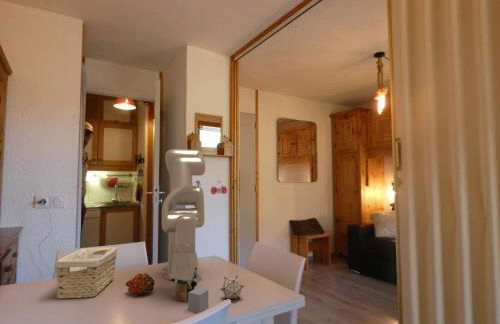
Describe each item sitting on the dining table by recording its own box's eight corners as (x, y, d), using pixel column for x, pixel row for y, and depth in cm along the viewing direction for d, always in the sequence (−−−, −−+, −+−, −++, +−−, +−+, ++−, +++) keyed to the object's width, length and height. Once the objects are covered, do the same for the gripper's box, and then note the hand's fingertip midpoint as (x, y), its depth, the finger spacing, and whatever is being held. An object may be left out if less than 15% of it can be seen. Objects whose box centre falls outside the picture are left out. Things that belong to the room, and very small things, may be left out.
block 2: (187, 310, 100) (188, 292, 101) (196, 305, 105) (196, 287, 105) (199, 313, 98) (199, 294, 98) (208, 307, 102) (208, 290, 103)
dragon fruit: (155, 299, 113) (127, 302, 115) (161, 280, 120) (135, 283, 122) (146, 286, 109) (117, 289, 111) (154, 267, 116) (126, 270, 118)
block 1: (175, 300, 109) (175, 283, 109) (183, 295, 113) (183, 279, 114) (185, 302, 107) (185, 285, 107) (194, 297, 111) (194, 281, 112)
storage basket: (80, 280, 132) (81, 247, 133) (117, 278, 134) (118, 246, 135) (51, 301, 108) (53, 260, 110) (97, 299, 111) (99, 259, 112)
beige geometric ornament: (235, 310, 108) (239, 294, 103) (214, 300, 110) (218, 284, 105) (244, 291, 116) (248, 275, 111) (224, 282, 118) (228, 266, 113)
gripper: (161, 248, 112) (160, 297, 111) (197, 252, 104) (196, 305, 103) (174, 244, 119) (173, 290, 117) (209, 248, 111) (209, 297, 110)
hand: (184, 296), depth 110 cm, fingers closed on block 1, 5 cm apart
